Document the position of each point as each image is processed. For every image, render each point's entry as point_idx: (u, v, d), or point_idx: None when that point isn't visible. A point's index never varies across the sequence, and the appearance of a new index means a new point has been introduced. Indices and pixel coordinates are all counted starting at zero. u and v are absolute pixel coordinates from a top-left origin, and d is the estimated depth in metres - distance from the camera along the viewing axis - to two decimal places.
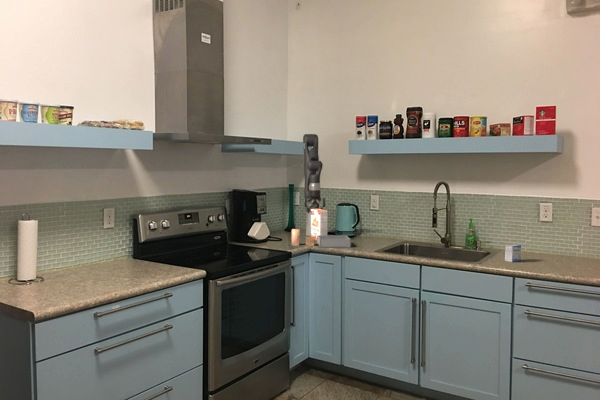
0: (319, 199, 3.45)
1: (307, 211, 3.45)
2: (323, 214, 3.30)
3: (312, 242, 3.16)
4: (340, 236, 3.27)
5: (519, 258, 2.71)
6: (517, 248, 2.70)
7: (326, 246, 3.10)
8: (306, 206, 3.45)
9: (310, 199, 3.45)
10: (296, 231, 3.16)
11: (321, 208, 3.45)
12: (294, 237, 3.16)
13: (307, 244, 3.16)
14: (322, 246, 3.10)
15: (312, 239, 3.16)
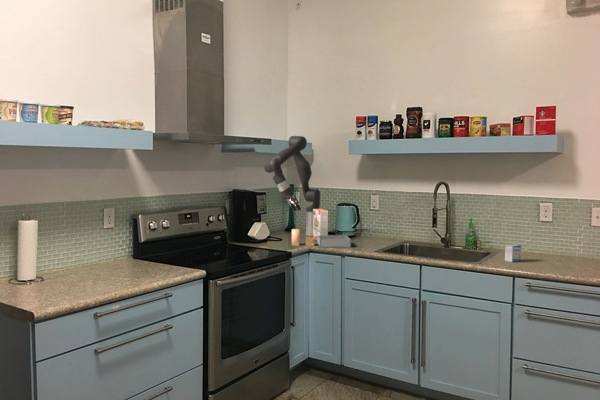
0: (290, 198, 3.16)
1: (293, 209, 3.25)
2: (324, 214, 3.30)
3: (312, 242, 3.16)
4: (340, 236, 3.27)
5: (519, 258, 2.71)
6: (517, 248, 2.70)
7: (326, 246, 3.10)
8: None
9: (287, 198, 3.22)
10: (296, 231, 3.16)
11: None
12: (294, 237, 3.16)
13: (307, 244, 3.16)
14: (322, 246, 3.10)
15: (312, 239, 3.16)
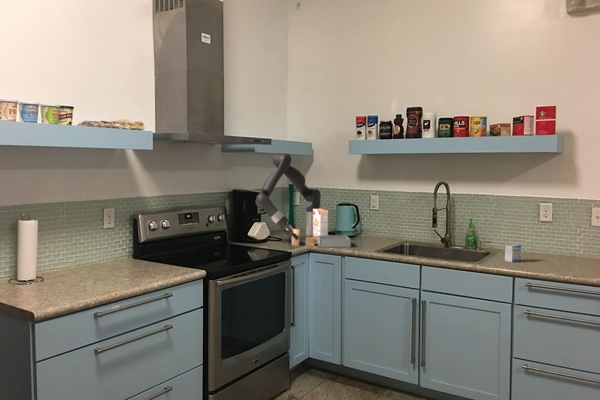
0: (285, 228, 3.16)
1: None
2: (324, 214, 3.30)
3: (312, 242, 3.16)
4: (340, 236, 3.27)
5: (519, 258, 2.71)
6: (517, 248, 2.70)
7: (326, 246, 3.10)
8: None
9: None
10: (296, 231, 3.16)
11: (293, 236, 3.16)
12: None
13: (307, 244, 3.16)
14: (322, 246, 3.10)
15: (312, 239, 3.16)
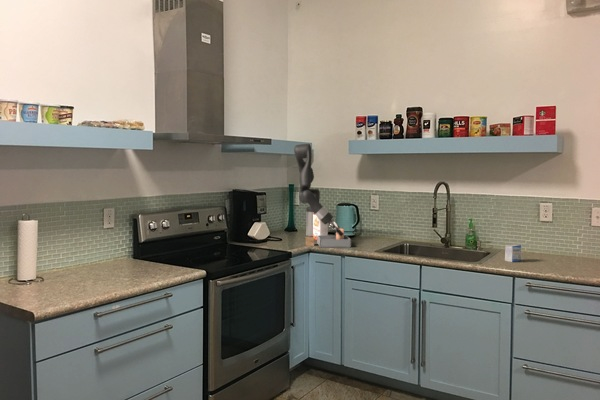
0: (330, 224, 3.16)
1: None
2: None
3: (312, 242, 3.16)
4: None
5: (519, 258, 2.71)
6: (517, 248, 2.70)
7: (326, 246, 3.10)
8: None
9: None
10: (341, 230, 3.16)
11: (337, 232, 3.15)
12: (339, 236, 3.16)
13: (307, 244, 3.16)
14: (322, 246, 3.10)
15: (312, 239, 3.16)
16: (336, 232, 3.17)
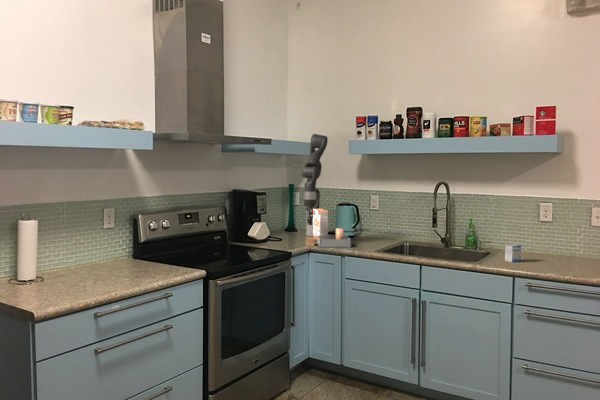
0: (308, 209, 3.14)
1: None
2: (324, 214, 3.30)
3: (312, 242, 3.16)
4: None
5: (519, 258, 2.71)
6: (517, 248, 2.70)
7: (326, 246, 3.10)
8: (307, 215, 3.23)
9: None
10: (340, 230, 3.16)
11: (308, 219, 3.13)
12: (338, 236, 3.16)
13: (307, 244, 3.16)
14: (322, 246, 3.10)
15: (312, 239, 3.16)
16: (336, 232, 3.18)
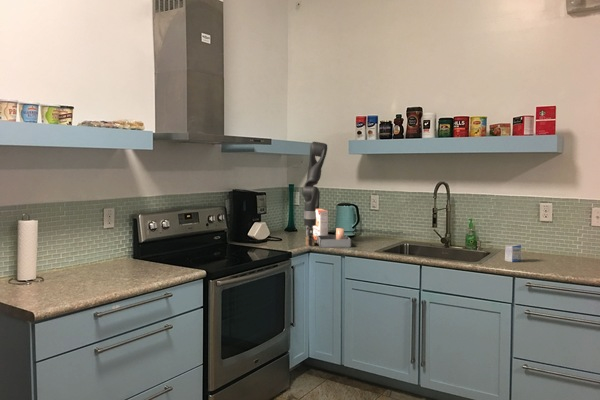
0: (308, 229, 3.15)
1: None
2: (324, 214, 3.30)
3: (312, 242, 3.16)
4: None
5: (519, 258, 2.71)
6: (517, 248, 2.70)
7: (326, 246, 3.10)
8: (308, 236, 3.22)
9: None
10: (341, 230, 3.16)
11: None
12: (338, 236, 3.16)
13: (307, 244, 3.16)
14: (322, 246, 3.10)
15: (312, 239, 3.16)
16: (336, 232, 3.18)
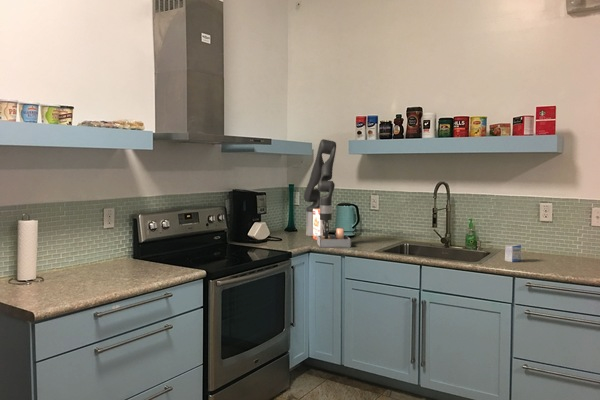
0: (324, 223, 3.14)
1: (323, 234, 3.23)
2: None
3: None
4: None
5: (519, 258, 2.71)
6: (517, 248, 2.70)
7: (326, 246, 3.10)
8: (323, 229, 3.23)
9: (323, 222, 3.20)
10: (340, 230, 3.16)
11: (324, 233, 3.13)
12: (338, 236, 3.17)
13: None
14: (322, 246, 3.10)
15: (328, 238, 3.16)
16: None
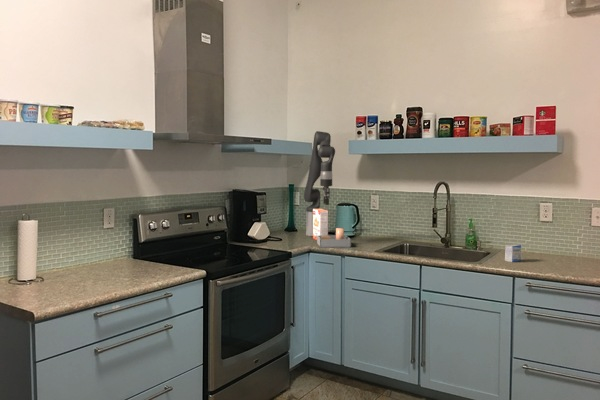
0: (325, 189, 3.12)
1: None
2: (324, 214, 3.30)
3: None
4: None
5: (519, 258, 2.71)
6: (517, 248, 2.70)
7: (326, 246, 3.10)
8: (323, 196, 3.22)
9: None
10: (340, 230, 3.16)
11: (325, 199, 3.12)
12: (338, 236, 3.17)
13: None
14: (322, 246, 3.10)
15: (328, 238, 3.16)
16: (336, 232, 3.18)
